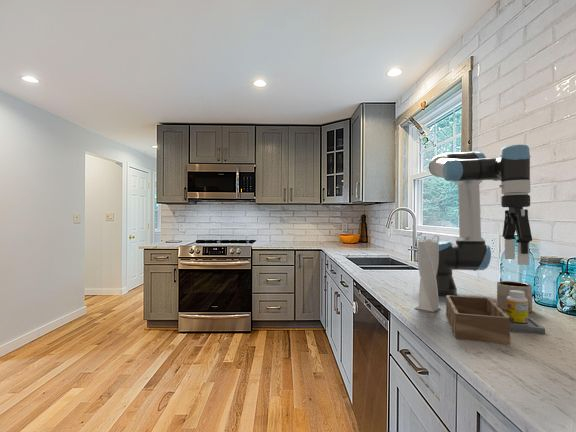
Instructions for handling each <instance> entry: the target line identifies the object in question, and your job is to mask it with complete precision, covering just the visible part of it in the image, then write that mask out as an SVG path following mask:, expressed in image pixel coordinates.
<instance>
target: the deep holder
mask: <svg viewBox="0 0 576 432" xmlns="http://www.w3.org/2000/svg"><path fill="white" fill-rule="evenodd" d="M445 302H446V303H445V313H446V314H445V316H446V319H447V320H448V323H449V326H450V329H451V330H452V334H453V336H454V338H455V339H457V340H467V341H475V342H484V343H495V344H503V345H511V331H510V317H509V316H508V315H507V312H506V311H505V310H502V309H501V308H499V307H498V306H497V303H495V302H494V301H493V299H491V298H490V297H481V296H480V297H479V296H466V295H465V296H463V295H462V296H461V295H447V296H445Z"/></svg>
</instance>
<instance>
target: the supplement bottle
mask: <svg viewBox="0 0 576 432" xmlns="http://www.w3.org/2000/svg"><path fill="white" fill-rule="evenodd" d="M509 294H510V296H508V297H507V311H506V314H507V315H508V316H509V317H510V324H512V325H522V326H527V325H528V323H529V319H528V318H530V316H529V313H528V299H527V298H525V292H523V291H519V290H510V291H509Z"/></svg>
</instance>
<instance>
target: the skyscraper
mask: <svg viewBox="0 0 576 432" xmlns="http://www.w3.org/2000/svg"><path fill="white" fill-rule="evenodd" d="M436 237H437V241H435V240H434V238H436ZM438 242H440V236H439V235H438V234H435V235H433V237H432V238H424V239H418V240H417V267H418V272H419V277H420V281H419V287H418V288H419V293H418V306H416V307H414V310H415V309H416V310H415V311H420V312H421V311H422V312H427V313H432V314H434V313H436V312H438V311H440V310H441V309H442V308H440V304H439V303H440V302H439V301H440V300H439V295H438V287H437V280H436V275H437V270H438V262H439V245H438Z"/></svg>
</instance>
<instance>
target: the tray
mask: <svg viewBox="0 0 576 432" xmlns="http://www.w3.org/2000/svg"><path fill="white" fill-rule="evenodd" d="M528 319H529V323H528V325H527V326H522V325H512V324H510V332H521V333H532V334H542V335H544V334H546V328H545V327H544V326H543V325H542V324H540V322H538V321H536V320H535V318H533V317H529V318H528Z"/></svg>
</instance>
